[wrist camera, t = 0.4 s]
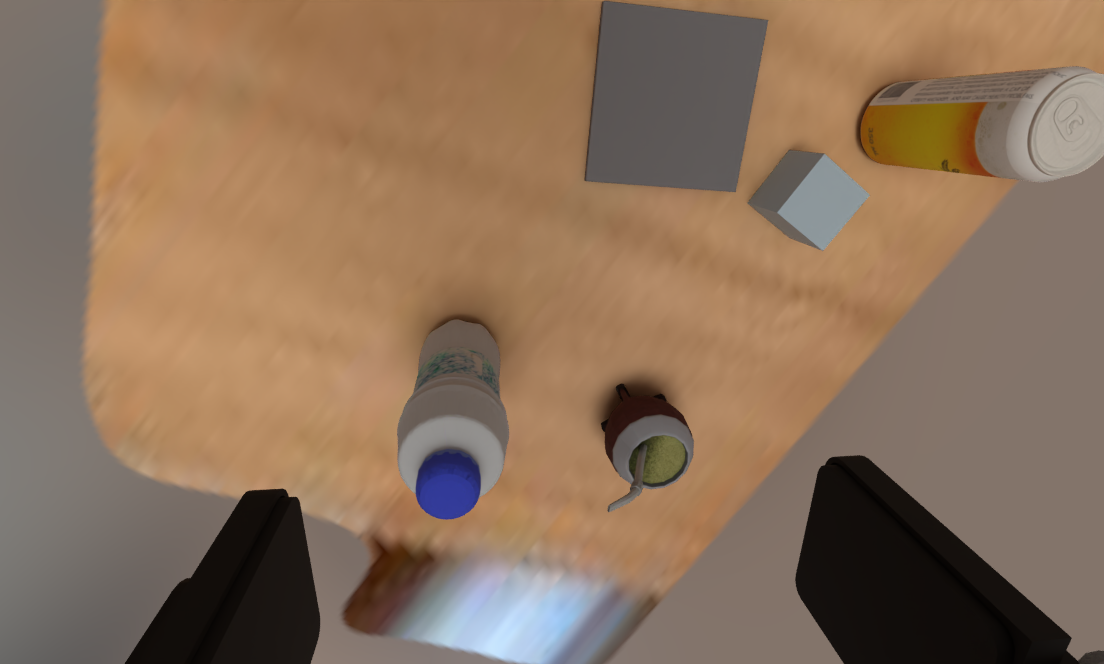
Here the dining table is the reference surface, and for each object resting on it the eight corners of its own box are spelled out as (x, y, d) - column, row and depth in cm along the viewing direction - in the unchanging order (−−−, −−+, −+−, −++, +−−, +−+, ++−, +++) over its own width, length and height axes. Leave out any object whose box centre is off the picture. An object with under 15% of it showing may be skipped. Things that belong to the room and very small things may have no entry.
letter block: (789, 237, 47) (822, 250, 42) (746, 203, 45) (777, 212, 41) (831, 185, 46) (871, 193, 41) (789, 148, 44) (826, 151, 39)
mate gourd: (681, 423, 52) (754, 535, 38) (605, 461, 52) (650, 584, 38) (650, 359, 49) (717, 454, 35) (570, 399, 50) (605, 508, 36)
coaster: (601, 2, 39) (603, 0, 38) (764, 21, 40) (768, 20, 40) (584, 180, 43) (585, 181, 42) (732, 191, 45) (735, 192, 44)
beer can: (878, 180, 46) (1052, 206, 32) (839, 123, 44) (1006, 125, 30) (940, 124, 45) (1147, 127, 31) (903, 63, 43) (1106, 37, 29)
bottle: (471, 398, 48) (464, 572, 30) (404, 357, 46) (352, 517, 28) (517, 340, 47) (541, 484, 28) (450, 295, 45) (428, 419, 26)
